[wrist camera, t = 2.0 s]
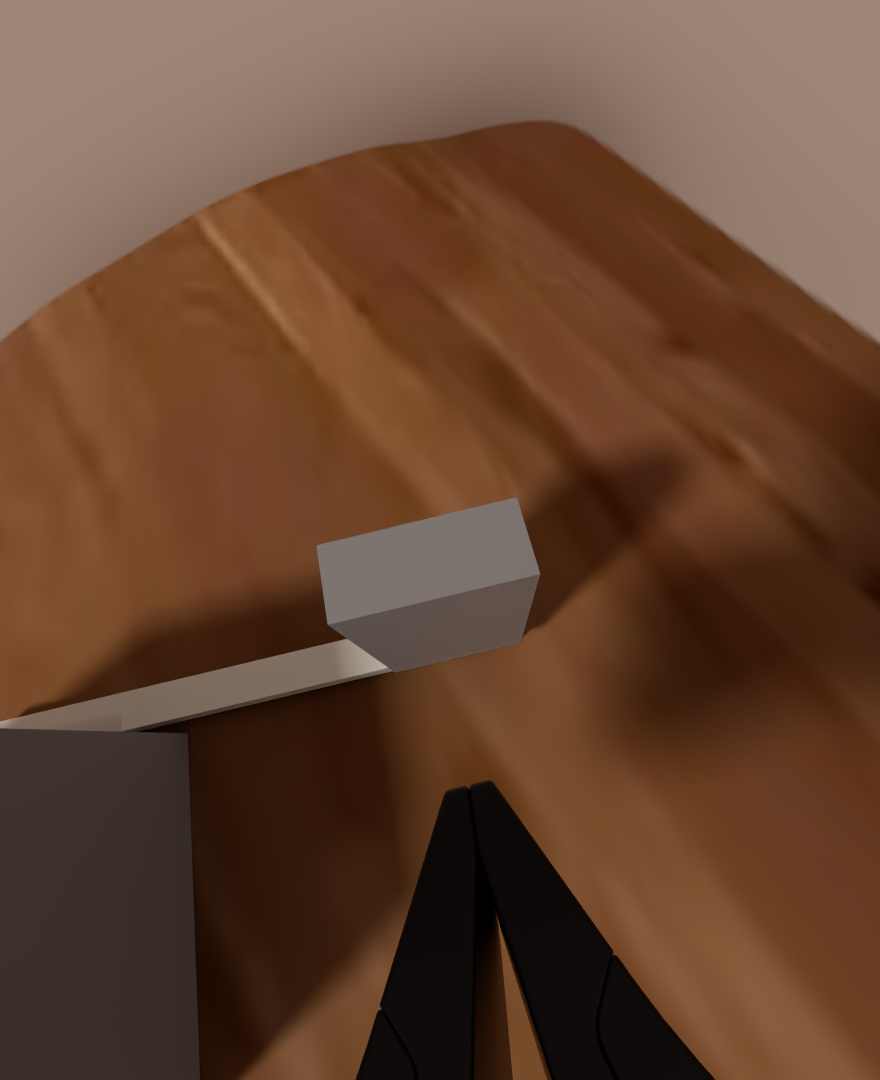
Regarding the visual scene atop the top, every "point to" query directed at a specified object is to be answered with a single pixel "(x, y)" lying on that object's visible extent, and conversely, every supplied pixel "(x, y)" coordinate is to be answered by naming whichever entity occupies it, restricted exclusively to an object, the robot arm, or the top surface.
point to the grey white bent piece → (360, 620)
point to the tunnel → (96, 907)
